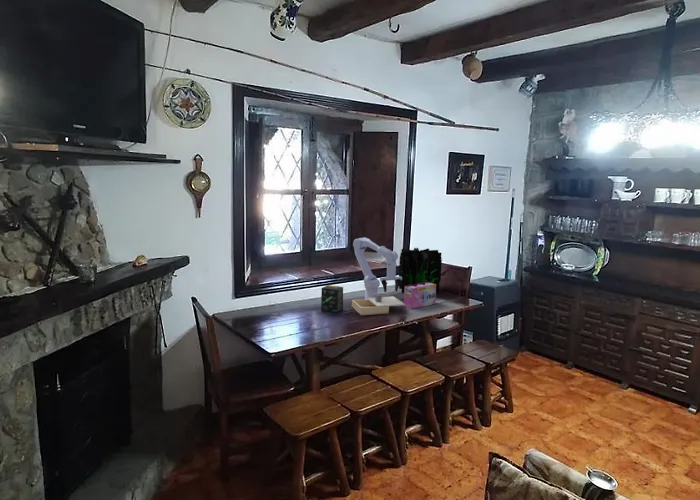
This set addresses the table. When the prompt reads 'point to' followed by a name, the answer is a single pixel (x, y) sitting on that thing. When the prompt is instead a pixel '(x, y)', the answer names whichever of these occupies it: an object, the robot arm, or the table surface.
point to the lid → (385, 301)
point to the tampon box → (332, 298)
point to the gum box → (419, 295)
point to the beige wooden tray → (368, 307)
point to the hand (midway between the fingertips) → (390, 291)
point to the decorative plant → (420, 267)
